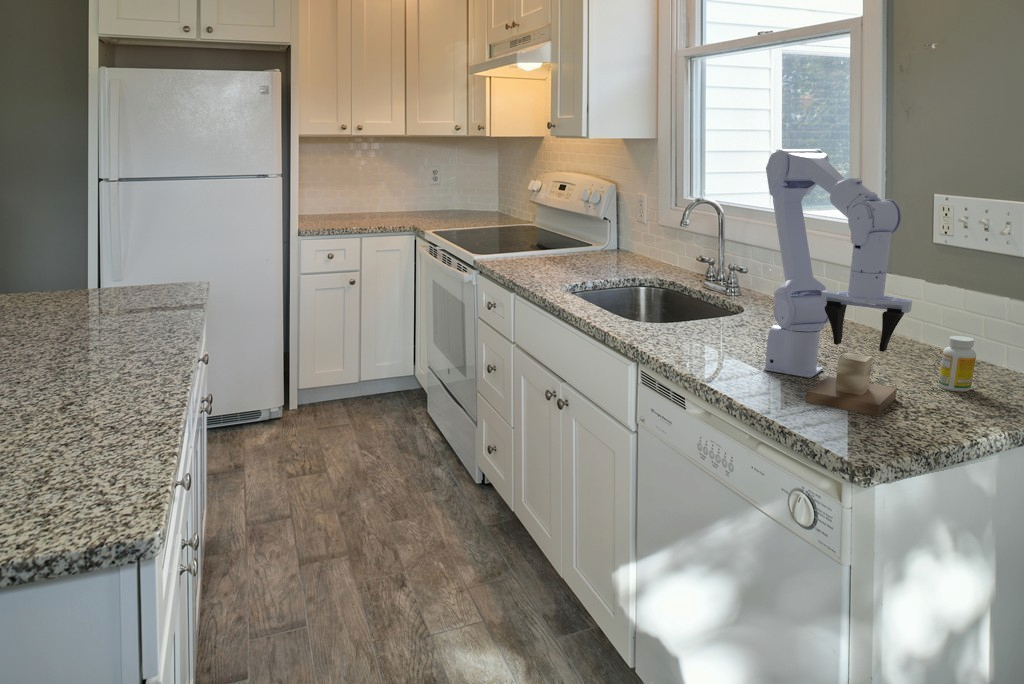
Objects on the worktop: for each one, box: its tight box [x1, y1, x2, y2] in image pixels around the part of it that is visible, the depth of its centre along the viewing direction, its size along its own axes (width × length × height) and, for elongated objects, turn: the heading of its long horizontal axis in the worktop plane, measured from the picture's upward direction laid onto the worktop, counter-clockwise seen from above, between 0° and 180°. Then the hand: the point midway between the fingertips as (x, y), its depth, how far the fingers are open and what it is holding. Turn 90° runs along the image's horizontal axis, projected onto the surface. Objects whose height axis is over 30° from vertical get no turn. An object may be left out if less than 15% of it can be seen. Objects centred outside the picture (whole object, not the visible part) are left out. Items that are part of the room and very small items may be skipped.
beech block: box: [835, 352, 874, 395], centre depth 137 cm, size 4×4×6 cm
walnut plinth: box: [805, 376, 898, 417], centre depth 138 cm, size 12×12×2 cm
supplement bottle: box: [938, 335, 977, 393], centre depth 145 cm, size 5×5×10 cm
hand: (859, 346), depth 138 cm, fingers open, 7 cm apart
